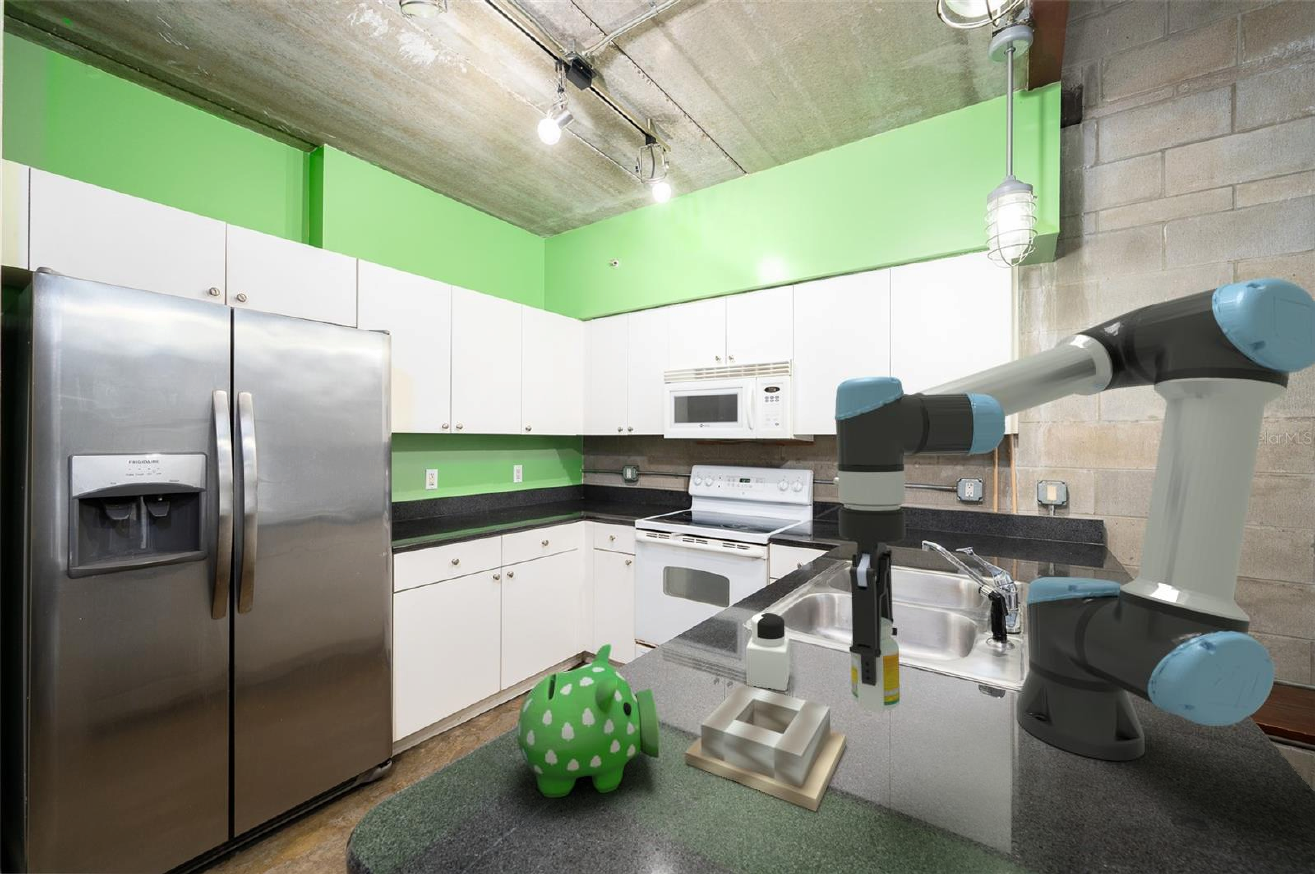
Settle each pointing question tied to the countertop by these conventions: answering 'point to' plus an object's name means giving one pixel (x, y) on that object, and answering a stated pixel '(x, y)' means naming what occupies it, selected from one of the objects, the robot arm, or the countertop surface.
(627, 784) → the countertop surface
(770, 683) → the medicine bottle
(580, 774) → the piggy bank
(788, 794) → the block
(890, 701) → the supplement bottle
